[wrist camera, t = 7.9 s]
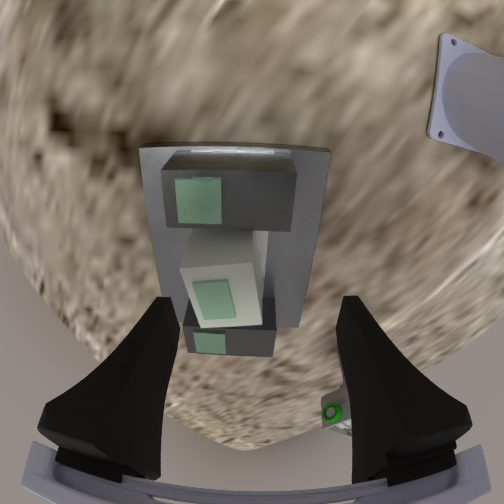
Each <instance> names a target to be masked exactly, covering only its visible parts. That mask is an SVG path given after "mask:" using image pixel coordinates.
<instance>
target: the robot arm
mask: <svg viewBox="0 0 504 504" xmlns="http://www.w3.org/2000/svg"><path fill="white" fill-rule="evenodd" d="M451 39H452V40H453V42H454V44H453V45H452V43H451ZM440 131H441V135H440V136H439V137H438V133H439V132H440ZM427 133H428V136H429V137H430V138H432V139H433V140H437V141H441V142H445V143H448V144H452V145H456V146H459V147H463V148H466V149H469V150H473V151H476V152H479V153H482V154H485V155H487V156H488V157H490V158H491V159H493V160H495V161H496V162H498V163H499V164H501V165H502V166H504V57H499V56H493V55H491V54H489V53H487V52H485V51H484V50H482V49H480V48H478V47H476V46H474V45H472V44H470V43H468V42H466V41H464V40H461V39H459V38H457V37H455V36H453V35H450V34H448V33H442V34H441V35H440V42H439V54H438V64H437V73H436V81H435V89H434V96H433V102H432V108H431V114H430V120H429V125H428V130H427ZM179 333H180V327H179V323H178V320H177V317H176V313H175V310H174V306H173V303H172V300H171V297H157V298H156V299H155V300H154V301H153V303H152V304H151V305H150V307H149V308H148V309H147V311H146V312H145V313H144V315H143V316H142V317H141V319H140V320H139V321H138V322H137V324H136V325H135V326H134V327H133V329H132V330H131V331H130V333H129V334H128V335H127V336H126V337H125V338H124V340H123V341H122V342H121V343H120V344H119V345H118V347H117V348H116V349H115V350H114V351H113V352H112V353H111V354H110V355H109V356H108V357H107V358H106V359H105V360H104V361H103V362H102V363H101V364H100V365H99V366H98V367H97V368H96V369H95V370H94V371H92V372H91V373H90V374H89V375H88V376H87V377H85V378H84V379H83V380H81V381H80V382H79V383H77V384H76V385H75V386H73V387H72V388H70V389H69V390H68V391H66V392H64V393H63V394H61V395H60V396H58V397H56V398H55V399H53V400H51V401H50V402H48V403H46V405H45V407H44V410H43V412H42V415H41V418H40V421H39V424H38V427H37V428H38V431H39V432H40V433H41V434H42V435H44V436H45V437H46V438H48V439H49V440H51V441H52V442H53V443H55V444H56V445H58V446H59V448H58V451H56V450H54V449H52V448H49V447H47V446H44V445H42V444H39V443H38V442H35V441H33V442H32V445H31V448H30V451H29V455H28V458H27V462H26V465H25V469H24V473H23V477H22V481H21V486H22V487H24V488H25V489H27V490H29V491H31V492H33V493H35V494H37V495H38V496H40V497H42V498H44V499H46V500H48V501H50V502H52V503H54V504H171V503H167V502H162V501H158V500H155V499H154V498H153V497H158V498H163V499H168V500H174V501H181V502H188V503H196V504H328V503H335V502H341V501H348V500H355V499H356V500H355V501H354V502H352V503H347V504H468V503H470V502H472V501H474V500H476V499H477V498H480V497H482V496H484V495H486V494H487V493H489V492H490V491H491V485H490V480H489V475H488V470H487V466H486V461H485V457H484V453H483V449H482V446H481V445H477V446H475V447H472V448H470V449H467V450H465V451H462V452H460V453H458V454H456V455H455V453H454V449H456V447H457V445H456V442H455V441H456V440H457V439H458V438H460V437H461V436H462V435H463V434H465V433H466V432H467V431H468V430H470V428H471V427H472V421H471V418H470V414H469V411H468V409H467V406H466V405H465V404H463V403H461V402H460V401H458V400H456V399H455V398H453V397H452V396H450V395H449V394H447V393H446V392H444V391H443V390H442V389H440V388H439V387H437V386H436V385H435V384H434V383H433V382H431V381H430V380H429V379H428V378H427V377H425V376H424V375H423V374H422V373H421V372H420V371H419V370H418V369H417V368H416V367H415V366H413V365H412V363H411V362H410V361H409V360H408V359H407V358H406V357H405V356H404V355H403V354H402V353H401V352H400V351H399V350H398V348H397V347H396V346H395V345H394V344H393V342H392V341H391V340H390V339H389V338H388V336H387V335H386V334H385V332H384V331H383V330H382V329H381V327H380V326H379V325H378V323H377V322H376V321H375V319H374V318H373V316H372V315H371V314H370V312H369V311H368V309H367V308H366V307H365V305H364V304H363V302H362V301H361V299H360V298H359V297H358V296H344V297H343V301H342V305H341V309H340V313H339V317H338V321H337V325H336V335H337V344H338V351H339V355H340V359H341V364H342V368H343V372H344V377H345V381H346V385H347V390H348V395H349V401H350V412H351V425H352V449H353V452H352V453H353V454H352V484H351V485H345V486H337V487H329V488H319V489H309V490H295V491H263V492H262V491H229V490H215V489H204V488H194V487H186V486H179V485H172V484H166V483H161V482H155V481H150V480H156V479H158V478H159V477H160V476H161V469H160V468H161V435H162V422H163V413H164V404H165V398H166V393H167V388H168V384H169V380H170V376H171V372H172V369H173V365H174V361H175V357H176V353H177V348H178V341H179ZM137 477H138V478H137ZM140 478H142V479H140ZM145 479H148V480H145Z"/></svg>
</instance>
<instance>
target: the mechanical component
mask: <svg viewBox="0 0 504 504" xmlns="http://www.w3.org/2000/svg"><path fill="white" fill-rule="evenodd" d="M338 355H339V351H338ZM339 360H340V365H341V371H342V376H343V383H342V384H341V385H340V389H338V390H336V391H333V392H331V393H329V394H327V395H324V396H323V397H322V398H321V408H322V412H321V416H322V425H323V429H325V430H328V431H332V432H335V433H338V434H342V435H345V436H346V437H352V425H351V412H350V401H349V395H348V390H347V385H346V381H345V377H344V372H343V368H342V364H341V359H340V355H339ZM337 426H338V427H337Z"/></svg>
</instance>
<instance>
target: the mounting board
mask: <svg viewBox="0 0 504 504" xmlns="http://www.w3.org/2000/svg"><path fill="white" fill-rule="evenodd" d="M139 154H140V164H141V173H142V181H143V189H144V196H145V203H146V210H147V217H148V223H149V230H150V236H151V241H152V247H153V253H154V258H155V263H156V269H157V274H158V279H159V284H160V288H161V293H162V297H171V300H172V303H173V306H174V310H175V313H176V317H177V320H178V322H183V331H184V336H185V341H186V346H187V350H188V353H200V354H214V355H231V356H256V357H273V351H274V344H275V338H276V332H277V327H299V323H300V318H301V314H302V309H303V305H304V300H305V296H306V291H307V286H308V281H309V276H310V271H311V266H312V261H313V256H314V251H315V246H316V240H317V235H318V229H319V224H320V218H321V212H322V206H323V200H324V194H325V188H326V181H327V175H328V168H329V161H330V154H331V153H330V151H329V150H328V149H327V148H318V147H307V146H295V145H280V144H263V143H235V142H177V143H151V144H143V145H142V146H141V147H140V148H139ZM193 228H195V229H225V230H251V231H256V237H257V244H258V251H259V258H260V265H261V272H262V325H249V326H233V327H214V328H201V327H200V325H199V322H198V319H197V317H196V314H195V311H194V309H193V306H192V303H191V300H190V298H189V295H188V292H187V289H186V286H185V284H184V281H183V278H182V275H181V272H180V269H179V268H180V265H181V262H182V259H183V256H184V253H185V250H186V246H187V243H188V240H189V237H190V234H191V232H192V229H193Z"/></svg>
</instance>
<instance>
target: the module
mask: <svg viewBox="0 0 504 504" xmlns="http://www.w3.org/2000/svg"><path fill="white" fill-rule="evenodd" d="M179 269H180V272H181V275H182V278H183V281H184V284H185V286H186V289H187V292H188V295H189V298H190V300H191V303H192V306H193V309H194V311H195V314H196V317H197V319H198V322H199V325H200V327H201V328H214V327H233V326H249V325H262V272H261V265H260V258H259V251H258V244H257V237H256V231H251V230H225V229H195V228H193V229H192V232H191V234H190V237H189V240H188V243H187V246H186V250H185V253H184V256H183V259H182V262H181V265H180V268H179Z"/></svg>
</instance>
